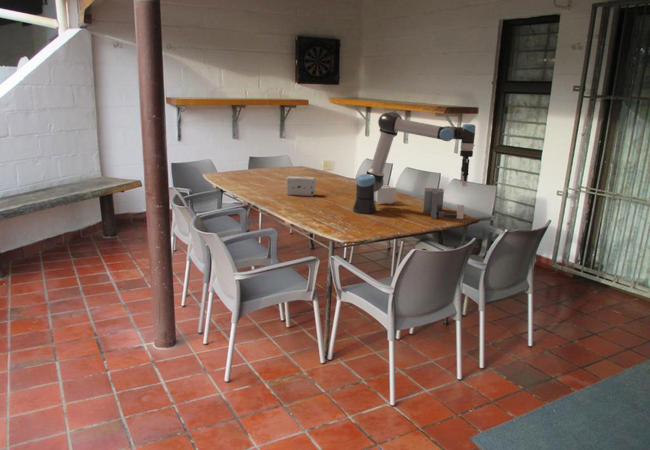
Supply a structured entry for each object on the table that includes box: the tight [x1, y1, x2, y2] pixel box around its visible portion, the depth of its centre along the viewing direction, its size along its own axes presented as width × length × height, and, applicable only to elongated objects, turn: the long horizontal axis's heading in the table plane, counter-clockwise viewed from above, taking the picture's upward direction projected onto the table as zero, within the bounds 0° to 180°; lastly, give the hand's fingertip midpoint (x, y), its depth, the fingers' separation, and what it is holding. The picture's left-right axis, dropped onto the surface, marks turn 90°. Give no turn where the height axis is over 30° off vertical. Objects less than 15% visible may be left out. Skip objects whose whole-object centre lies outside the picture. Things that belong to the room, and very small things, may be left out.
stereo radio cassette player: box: [286, 168, 317, 197], centre depth 386 cm, size 21×8×20 cm, turn 84°
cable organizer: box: [374, 184, 397, 205], centre depth 368 cm, size 15×11×12 cm
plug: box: [438, 204, 465, 220], centre depth 331 cm, size 15×4×8 cm, turn 80°
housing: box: [422, 187, 445, 220], centre depth 339 cm, size 12×29×16 cm, turn 171°
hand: (463, 184), depth 326 cm, fingers open, 13 cm apart
